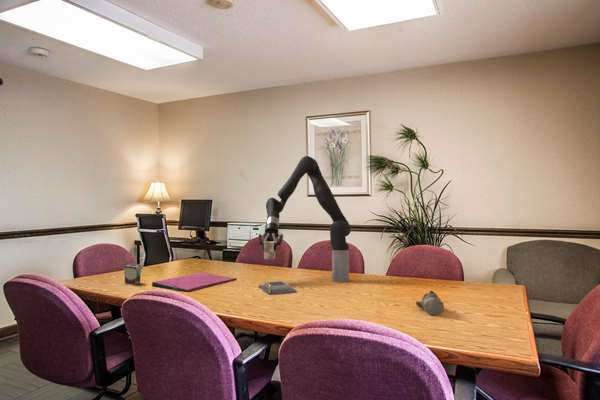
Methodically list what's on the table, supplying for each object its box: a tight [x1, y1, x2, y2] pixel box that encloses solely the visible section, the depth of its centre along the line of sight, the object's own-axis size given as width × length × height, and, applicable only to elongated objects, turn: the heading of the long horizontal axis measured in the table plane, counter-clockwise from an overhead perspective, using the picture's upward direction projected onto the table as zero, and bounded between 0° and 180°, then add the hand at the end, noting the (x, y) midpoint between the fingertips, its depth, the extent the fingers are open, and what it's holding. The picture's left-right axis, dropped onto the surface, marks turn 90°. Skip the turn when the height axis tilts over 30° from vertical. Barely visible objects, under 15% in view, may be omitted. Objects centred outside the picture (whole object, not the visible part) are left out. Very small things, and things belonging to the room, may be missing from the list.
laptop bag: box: [151, 272, 237, 293], centre depth 217 cm, size 40×4×27 cm
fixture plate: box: [258, 280, 297, 296], centre depth 200 cm, size 14×18×4 cm
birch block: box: [263, 241, 276, 260], centre depth 217 cm, size 5×7×9 cm
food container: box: [122, 263, 143, 286], centre depth 218 cm, size 12×6×10 cm, turn 58°
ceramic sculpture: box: [415, 290, 445, 317], centre depth 159 cm, size 11×9×15 cm
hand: (269, 250), depth 215 cm, fingers closed on birch block, 5 cm apart
